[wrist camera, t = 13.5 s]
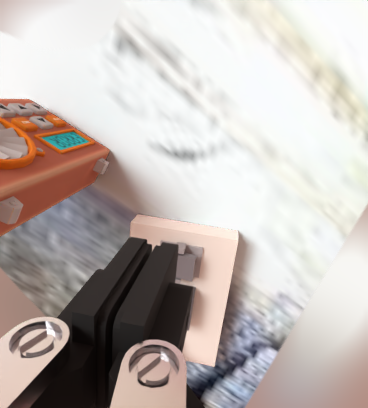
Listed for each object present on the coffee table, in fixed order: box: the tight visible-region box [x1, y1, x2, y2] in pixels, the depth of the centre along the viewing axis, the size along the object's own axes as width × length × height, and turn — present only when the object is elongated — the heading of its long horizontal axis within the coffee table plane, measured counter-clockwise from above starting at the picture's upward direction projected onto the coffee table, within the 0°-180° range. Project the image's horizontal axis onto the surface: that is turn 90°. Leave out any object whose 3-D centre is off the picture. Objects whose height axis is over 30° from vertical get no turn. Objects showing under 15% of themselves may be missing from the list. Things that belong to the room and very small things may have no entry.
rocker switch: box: [176, 253, 197, 282], centre depth 38 cm, size 4×3×1 cm
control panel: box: [0, 99, 110, 236], centre depth 30 cm, size 21×7×15 cm
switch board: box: [130, 214, 239, 367], centre depth 42 cm, size 14×21×6 cm, turn 174°
